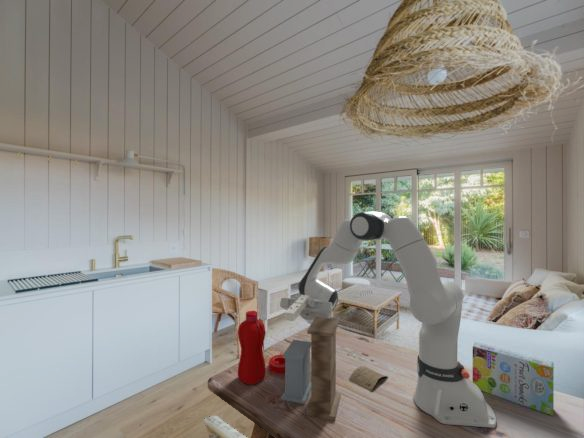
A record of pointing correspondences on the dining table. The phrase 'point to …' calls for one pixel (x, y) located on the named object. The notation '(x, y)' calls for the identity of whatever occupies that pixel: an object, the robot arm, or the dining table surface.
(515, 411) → the dining table surface
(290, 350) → the slate stand
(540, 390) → the snack box
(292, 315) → the domino bar
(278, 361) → the decorative ornament
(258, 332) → the water bottle
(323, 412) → the walnut pedestal
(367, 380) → the clay tablet
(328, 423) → the dining table surface
